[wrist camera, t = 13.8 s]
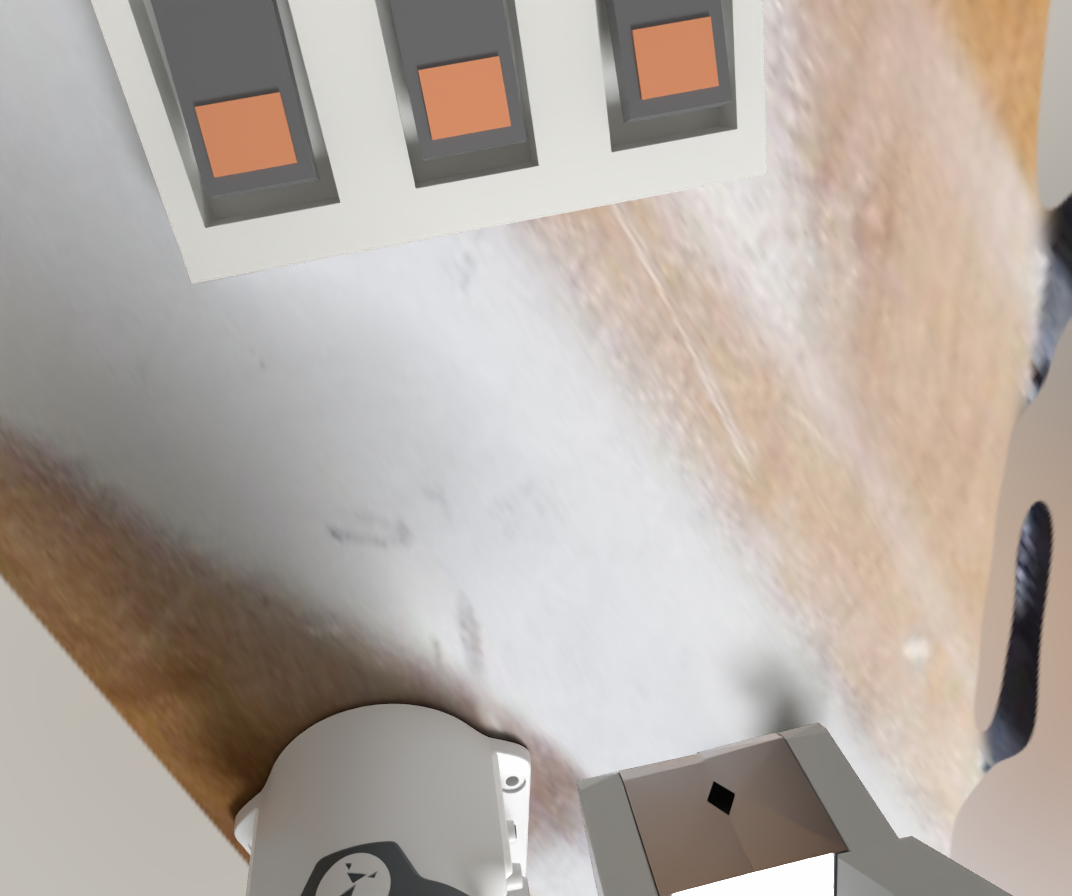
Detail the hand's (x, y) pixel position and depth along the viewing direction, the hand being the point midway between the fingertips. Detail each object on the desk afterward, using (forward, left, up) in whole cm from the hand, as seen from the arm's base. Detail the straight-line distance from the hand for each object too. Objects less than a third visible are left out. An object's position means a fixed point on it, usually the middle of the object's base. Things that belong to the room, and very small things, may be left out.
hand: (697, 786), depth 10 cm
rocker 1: (+11, +8, -27) cm, 30 cm away
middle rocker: (+11, 0, -27) cm, 29 cm away
